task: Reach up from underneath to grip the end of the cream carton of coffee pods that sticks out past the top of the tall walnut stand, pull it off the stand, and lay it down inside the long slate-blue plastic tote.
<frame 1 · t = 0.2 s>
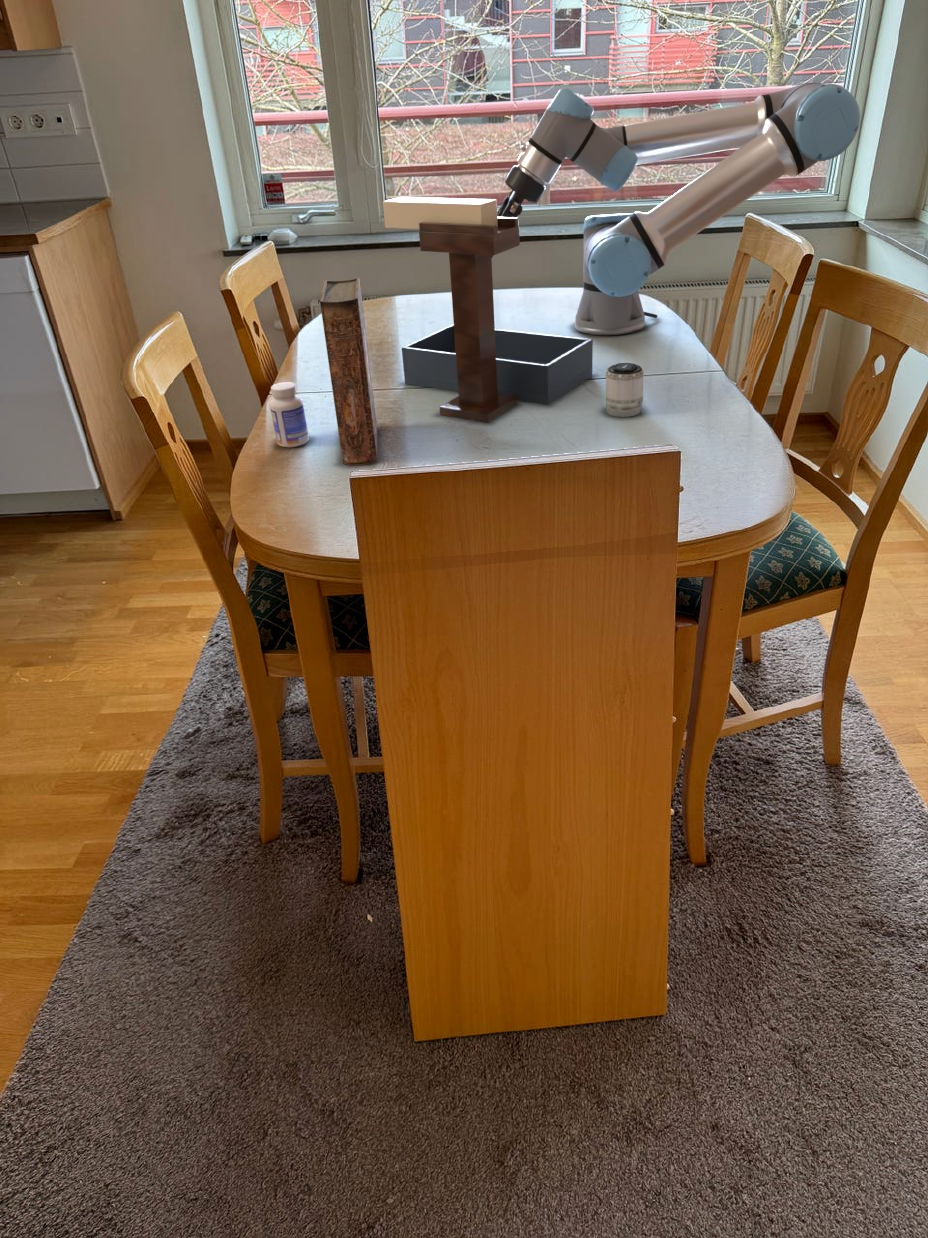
hand: (471, 272, 184), 16 cm above the table, tool tilted 35°, fingers open, 13 cm apart
book: (360, 447, 151), on the table
bin: (497, 379, 175), on the table
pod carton: (440, 226, 148), point 30 cm above the table, touching stand
pill bottle: (293, 443, 154), on the table
stand: (479, 409, 162), on the table
camera lens: (623, 412, 157), on the table
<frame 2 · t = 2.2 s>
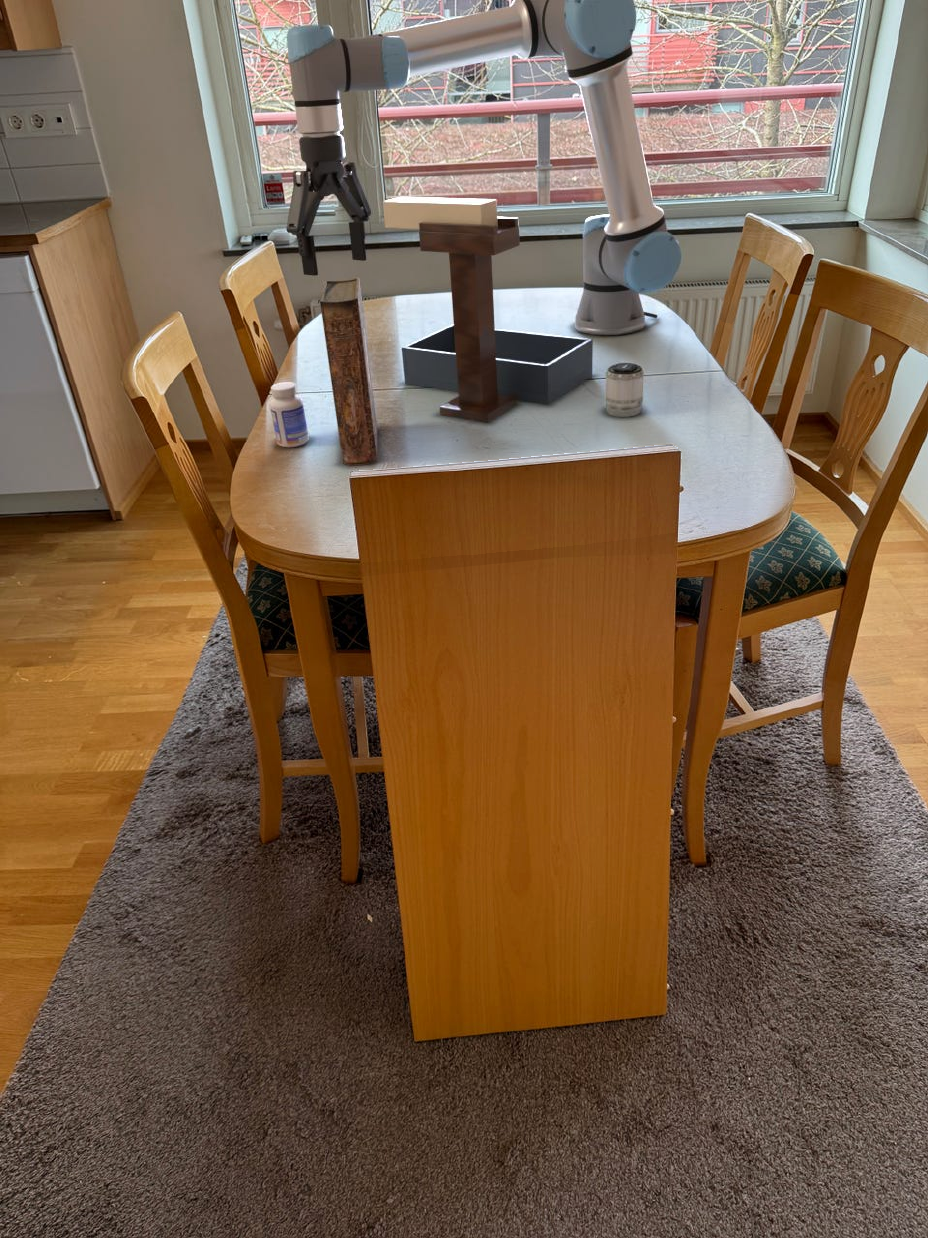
hand: (335, 267, 165), 22 cm above the table, tool pointing down, fingers open, 13 cm apart
nothing on the table moved.
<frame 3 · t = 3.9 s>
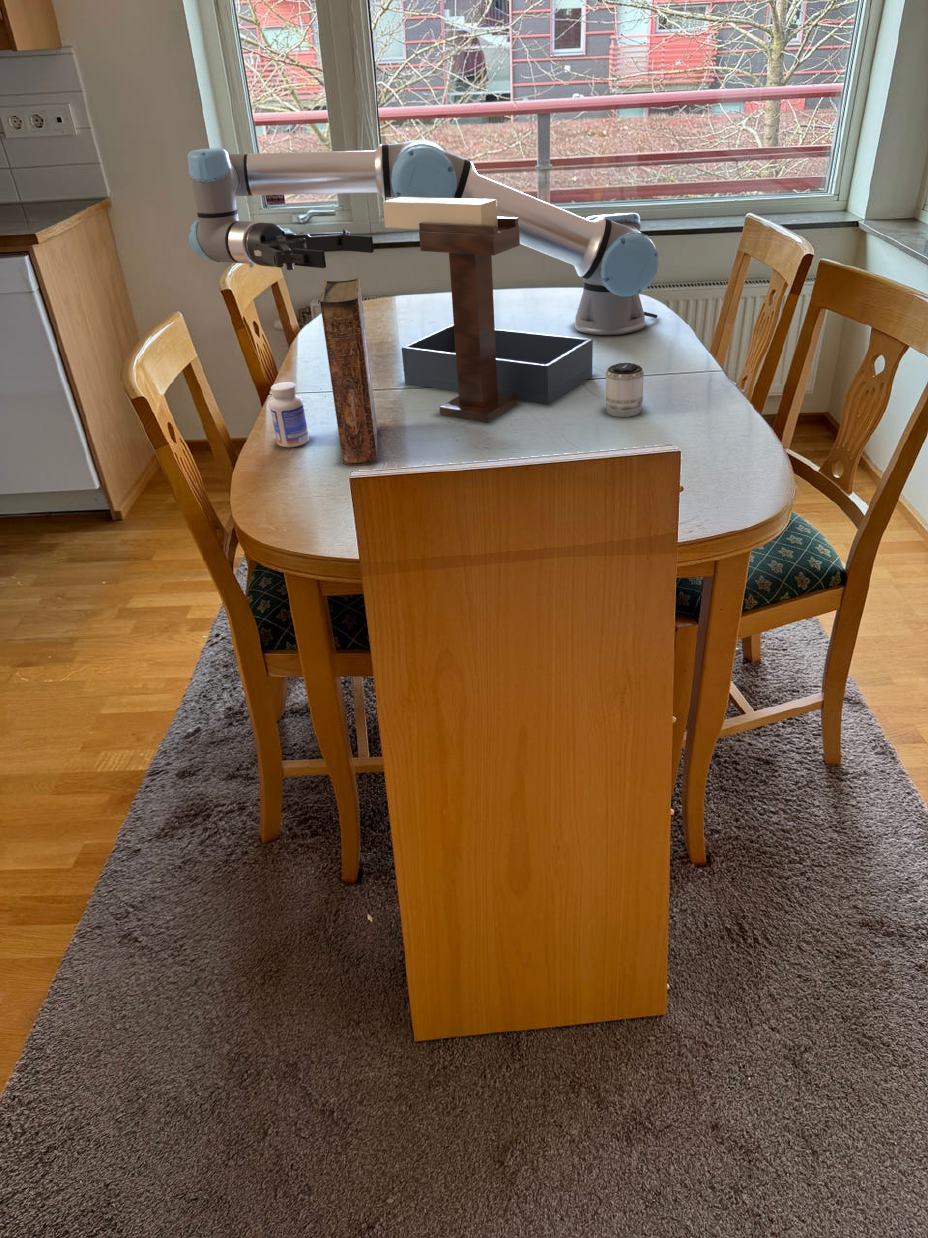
hand: (348, 251, 161), 25 cm above the table, tool horizontal, fingers open, 13 cm apart
nothing on the table moved.
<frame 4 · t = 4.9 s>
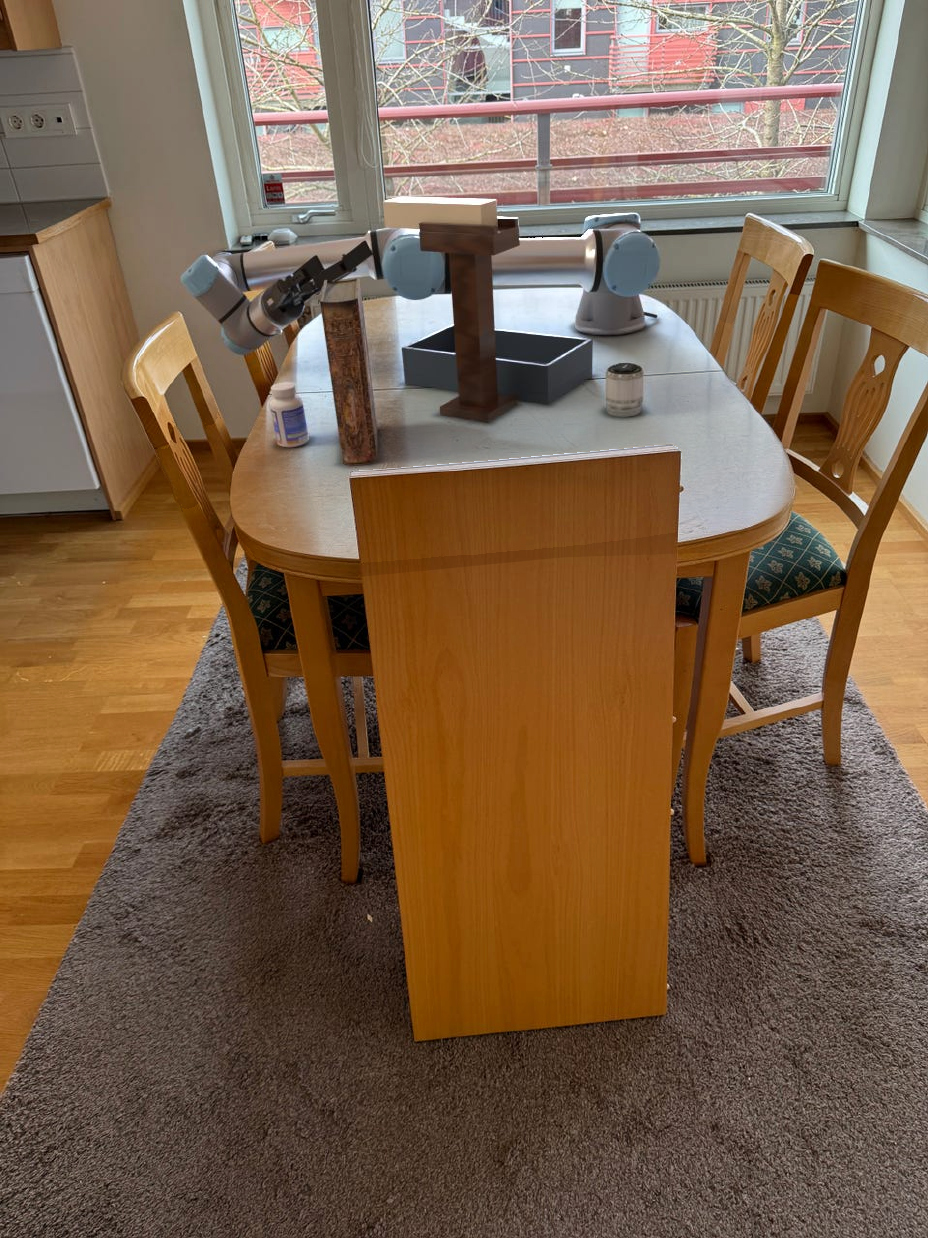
hand: (344, 254, 162), 25 cm above the table, tool pointing upward, fingers open, 13 cm apart
nothing on the table moved.
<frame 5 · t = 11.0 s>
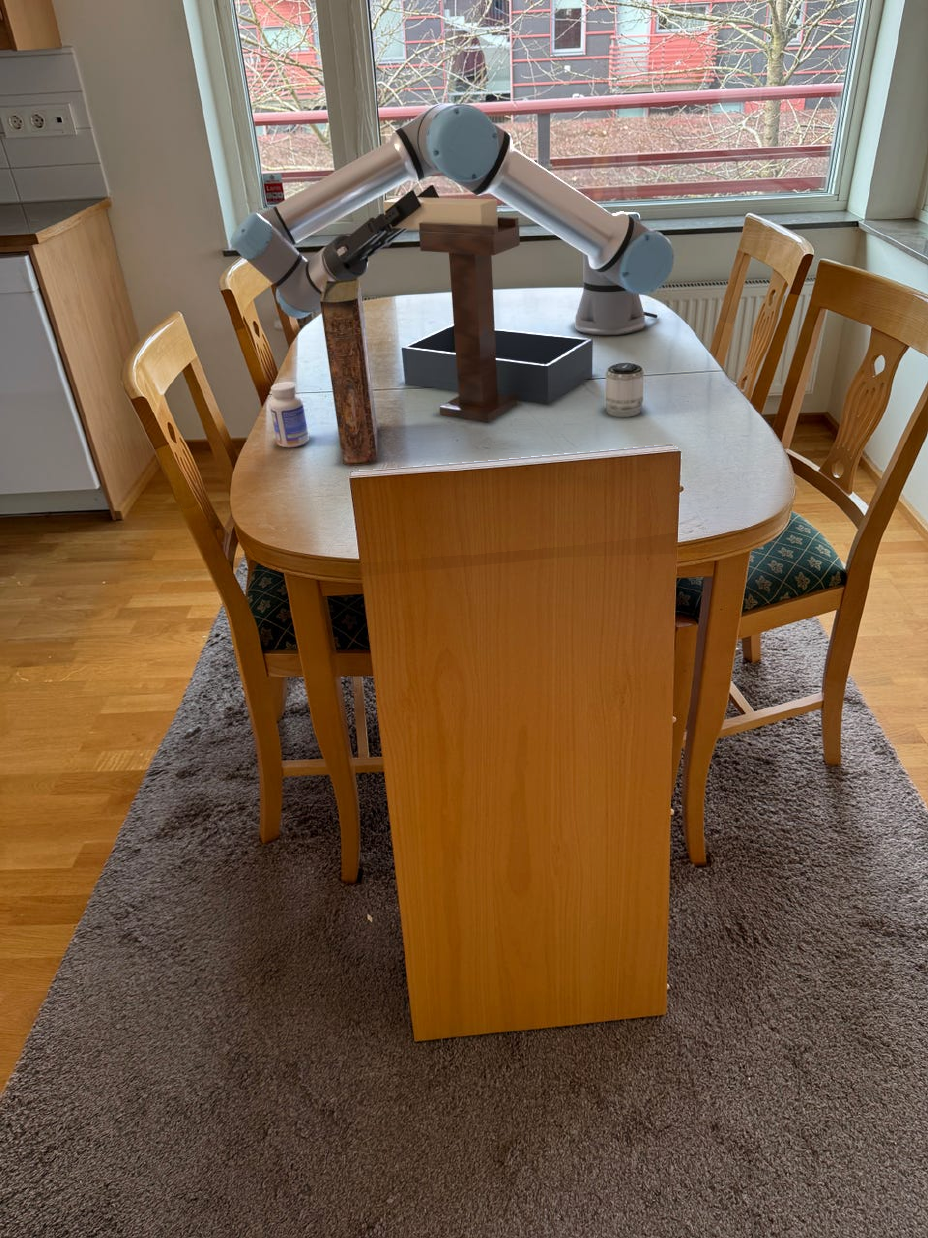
hand: (425, 195, 147), 35 cm above the table, tool pointing upward, fingers closed on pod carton, 5 cm apart
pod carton: (440, 226, 148), point 30 cm above the table, touching gripper, stand
everything else where it was.
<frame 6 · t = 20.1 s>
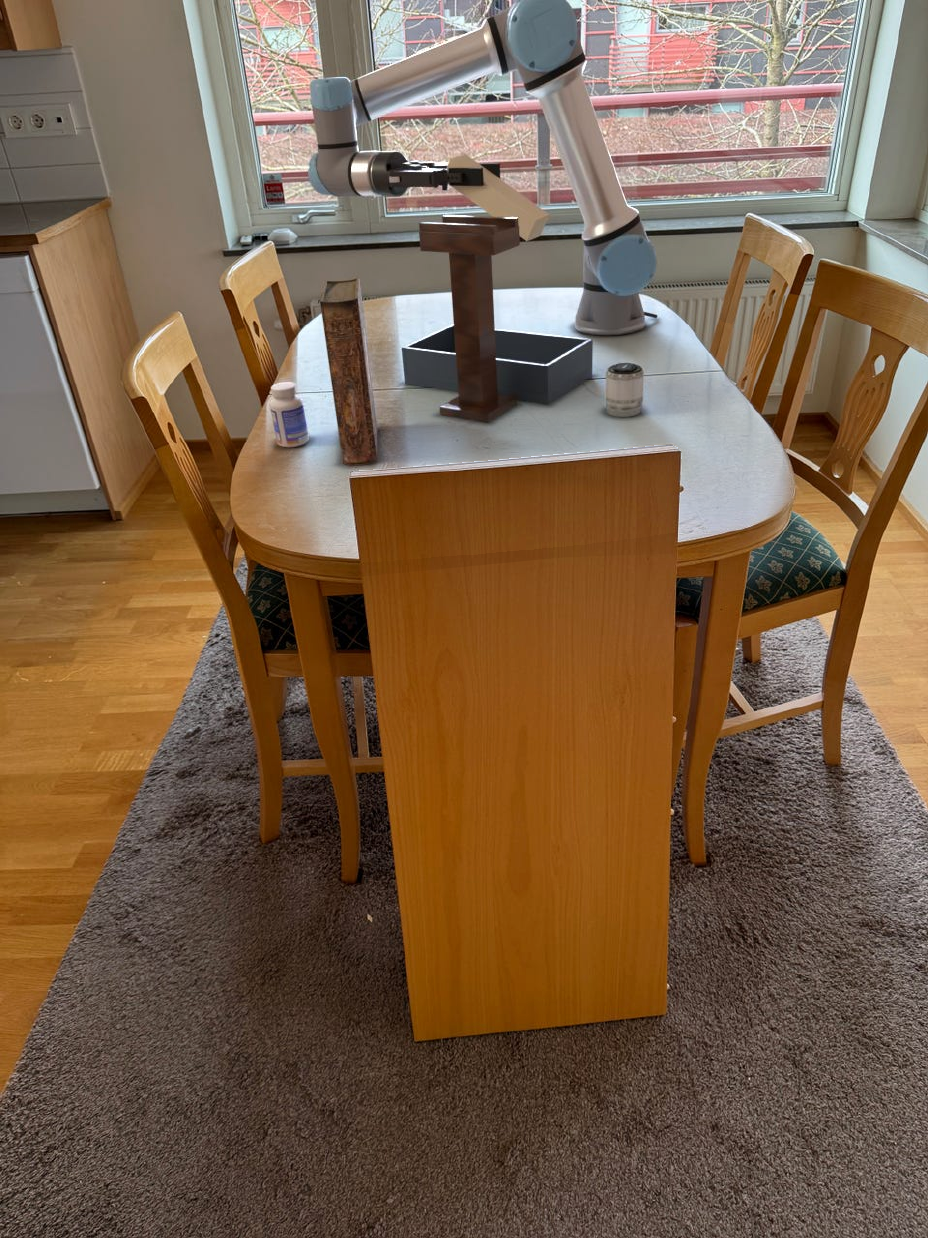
hand: (490, 174, 156), 36 cm above the table, tool horizontal, fingers closed on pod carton, 5 cm apart
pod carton: (491, 207, 159), point 31 cm above the table, tilted 30°, touching gripper
everything else where it was.
when the fingers open (12 cm above the table, at t = 26.0 s): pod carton drops 5 cm, resting on bin.
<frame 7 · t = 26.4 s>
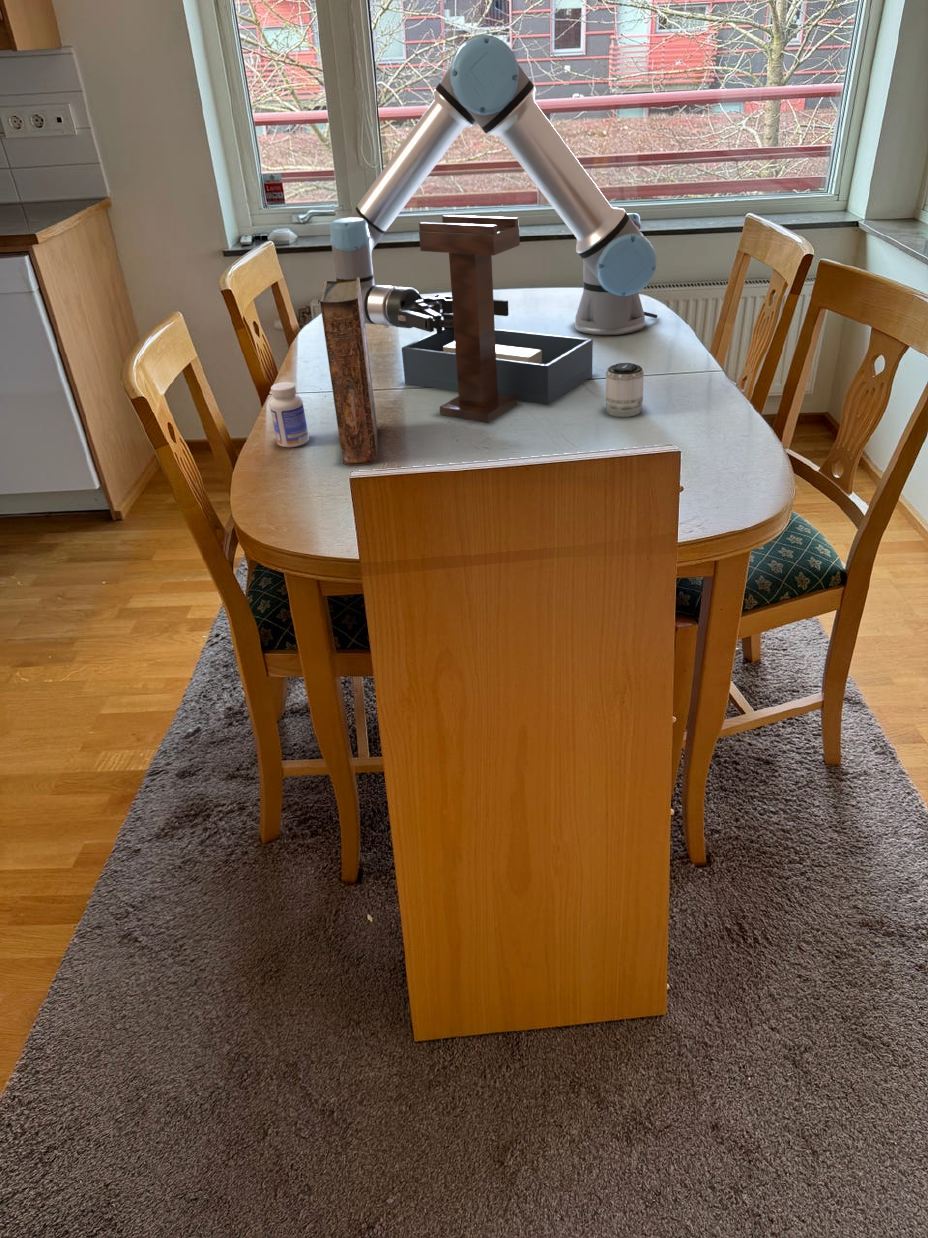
hand: (491, 316, 169), 12 cm above the table, tool horizontal, fingers open, 11 cm apart
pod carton: (492, 369, 175), point 2 cm above the table, touching bin
everything else where it was.
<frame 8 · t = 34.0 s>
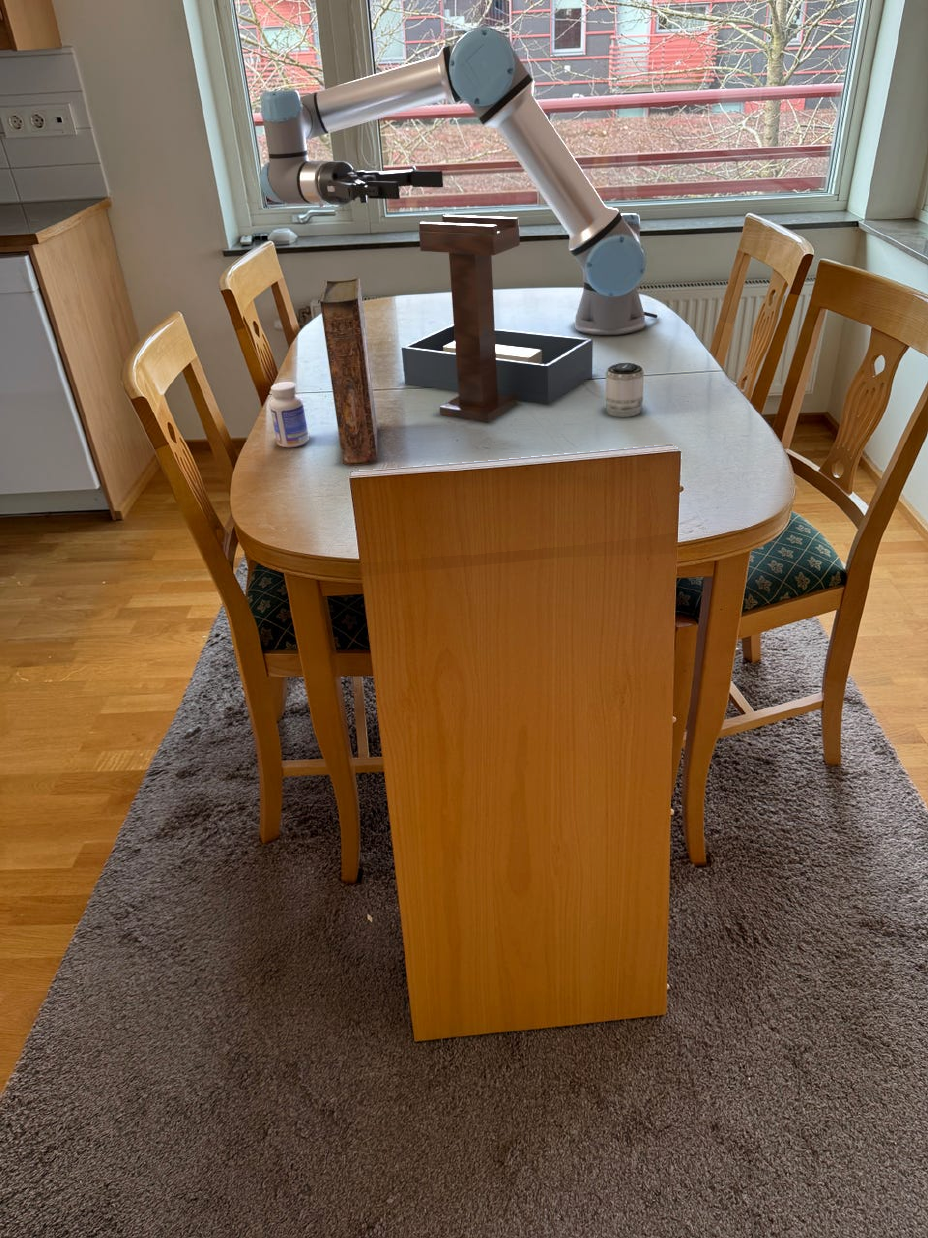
hand: (420, 184, 164), 34 cm above the table, tool horizontal, fingers open, 13 cm apart
nothing on the table moved.
at the end: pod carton 1.1 cm from the bin (horizontally); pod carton point 2.0 cm above the table; the gripper is holding nothing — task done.
